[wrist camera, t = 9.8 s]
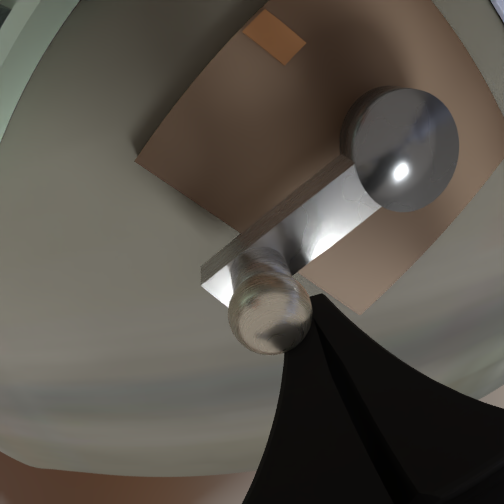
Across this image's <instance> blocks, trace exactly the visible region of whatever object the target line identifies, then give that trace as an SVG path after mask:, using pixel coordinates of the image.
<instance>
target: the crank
mask: <svg viewBox="0 0 504 504" xmlns="http://www.w3.org/2000/svg"><path fill="white" fill-rule="evenodd" d="M339 150H340V155H339V156H338V157H336V158H335V159H334V160H333V161H331V162H330V163H329V164H327V165H326V166H325V167H324V168H322V169H321V170H320V171H319V172H317V173H316V174H315V175H313V176H312V177H311V178H310V179H308V180H307V181H306V182H305V183H303V184H302V185H301V186H300V187H298V188H297V189H296V190H295V191H293V192H292V193H291V194H290V195H288V196H287V197H286V198H284V199H283V200H282V201H281V202H279V203H278V204H277V205H276V206H274V207H273V208H272V209H271V210H269V211H268V212H267V213H266V214H265V215H263V216H262V217H261V218H260V219H258V220H257V221H256V222H255V223H253V224H252V225H251V226H250V227H248V228H247V229H246V230H245V231H243V232H242V233H241V234H240V235H239V236H237V237H236V238H235V239H234V240H232V241H231V242H230V243H229V244H227V245H226V246H225V247H224V248H223V249H221V250H220V251H219V252H218V253H216V254H215V255H214V256H213V257H212V258H210V259H209V260H208V261H207V262H205V263H204V264H203V265H202V266H201V286H202V287H203V288H205V289H206V290H207V291H208V292H209V293H211V294H212V295H213V296H214V297H216V298H217V299H218V300H219V301H221V302H222V303H223V304H224V305H226V306H227V307H228V319H229V324H230V327H231V330H232V332H233V334H234V336H235V337H236V339H237V340H238V341H239V342H240V343H241V344H242V345H243V346H244V347H246V348H247V349H249V350H251V351H253V352H255V353H258V354H262V355H278V354H282V353H285V352H287V351H290V350H291V349H293V348H295V347H296V346H297V345H298V344H299V343H300V342H301V341H302V340H303V339H304V338H305V336H306V335H307V333H308V331H309V329H310V326H311V322H312V312H313V311H312V304H311V301H310V298H309V295H308V294H307V292H306V290H305V289H304V287H303V286H302V285H301V284H300V283H299V282H298V281H297V280H295V279H294V278H292V275H294V274H295V273H296V272H298V271H299V270H300V269H302V268H303V267H304V266H306V265H307V264H308V263H310V262H311V261H312V260H314V259H315V258H316V257H318V256H319V255H320V254H322V253H323V252H324V251H325V250H327V249H328V248H329V247H331V246H332V245H333V244H335V243H336V242H337V241H339V240H340V239H341V238H342V237H344V236H345V235H346V234H348V233H349V232H350V231H351V230H353V229H354V228H355V227H357V226H358V225H359V224H360V223H362V222H363V221H364V220H365V219H367V218H368V217H369V216H371V215H372V214H373V213H374V212H376V211H377V210H378V209H379V208H381V207H384V208H386V209H388V210H391V211H395V212H411V211H415V210H418V209H421V208H423V207H425V206H427V205H428V204H430V203H431V202H433V201H434V200H435V199H436V198H437V197H439V196H440V195H441V193H442V192H443V191H444V190H445V188H446V187H447V185H448V184H449V182H450V180H451V179H452V177H453V174H454V172H455V169H456V166H457V162H458V156H459V136H458V131H457V126H456V124H455V121H454V119H453V117H452V115H451V113H450V111H449V110H448V108H447V107H446V106H445V105H444V103H443V102H442V101H440V100H439V99H438V98H437V97H435V96H434V95H432V94H430V93H428V92H426V91H422V90H418V89H412V88H406V87H400V86H390V85H388V86H381V87H377V88H374V89H372V90H369V91H368V92H366V93H364V94H363V95H362V96H361V97H359V98H358V99H357V100H356V101H355V102H354V103H353V105H352V106H351V107H350V109H349V110H348V112H347V114H346V116H345V118H344V121H343V124H342V127H341V131H340V138H339Z"/></svg>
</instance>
